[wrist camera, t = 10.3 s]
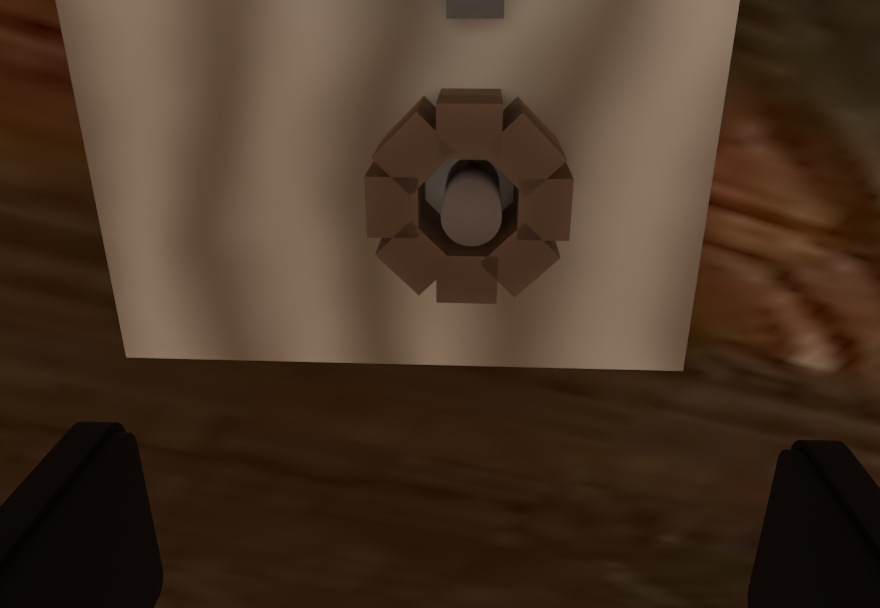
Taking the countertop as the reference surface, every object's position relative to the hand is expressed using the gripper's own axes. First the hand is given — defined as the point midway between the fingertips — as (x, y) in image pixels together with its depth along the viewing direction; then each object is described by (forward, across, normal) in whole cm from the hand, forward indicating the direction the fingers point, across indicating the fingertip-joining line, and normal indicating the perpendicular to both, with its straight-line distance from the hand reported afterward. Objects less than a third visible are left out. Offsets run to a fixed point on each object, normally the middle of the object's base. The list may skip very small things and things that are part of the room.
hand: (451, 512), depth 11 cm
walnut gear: (+19, 0, 0) cm, 19 cm away
